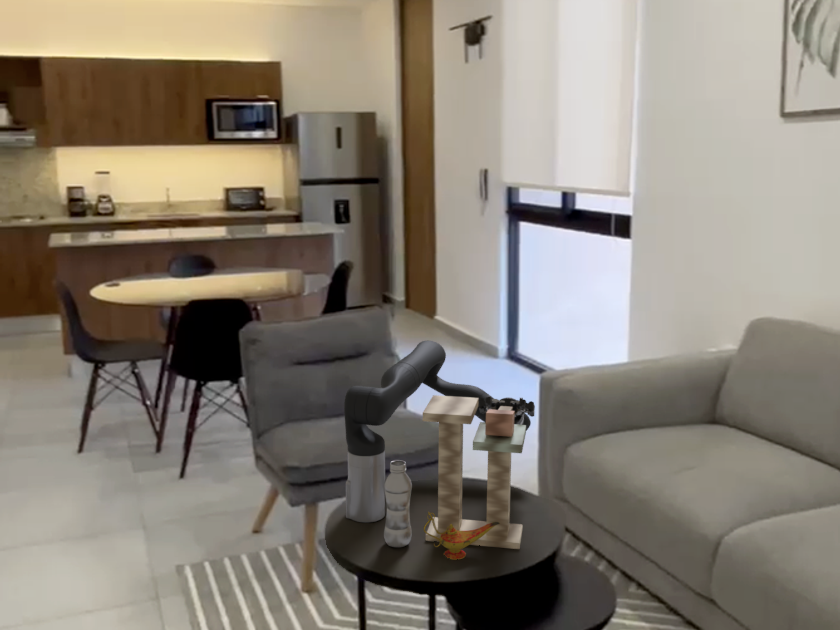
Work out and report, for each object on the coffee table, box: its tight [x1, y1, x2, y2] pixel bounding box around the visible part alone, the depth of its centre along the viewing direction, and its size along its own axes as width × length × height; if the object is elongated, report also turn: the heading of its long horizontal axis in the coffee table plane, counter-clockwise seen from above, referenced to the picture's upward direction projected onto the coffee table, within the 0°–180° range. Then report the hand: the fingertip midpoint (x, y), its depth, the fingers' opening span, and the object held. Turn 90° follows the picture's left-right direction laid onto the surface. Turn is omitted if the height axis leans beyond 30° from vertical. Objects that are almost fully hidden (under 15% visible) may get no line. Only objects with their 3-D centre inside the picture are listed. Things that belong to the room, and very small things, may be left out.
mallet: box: [485, 406, 515, 437], centre depth 203 cm, size 6×22×5 cm, turn 169°
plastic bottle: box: [383, 459, 413, 548], centre depth 196 cm, size 6×7×20 cm
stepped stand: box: [422, 394, 527, 550], centre depth 200 cm, size 22×14×32 cm, turn 79°
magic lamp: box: [423, 511, 500, 561], centre depth 193 cm, size 7×18×11 cm, turn 103°
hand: (504, 400), depth 206 cm, fingers open, 7 cm apart
